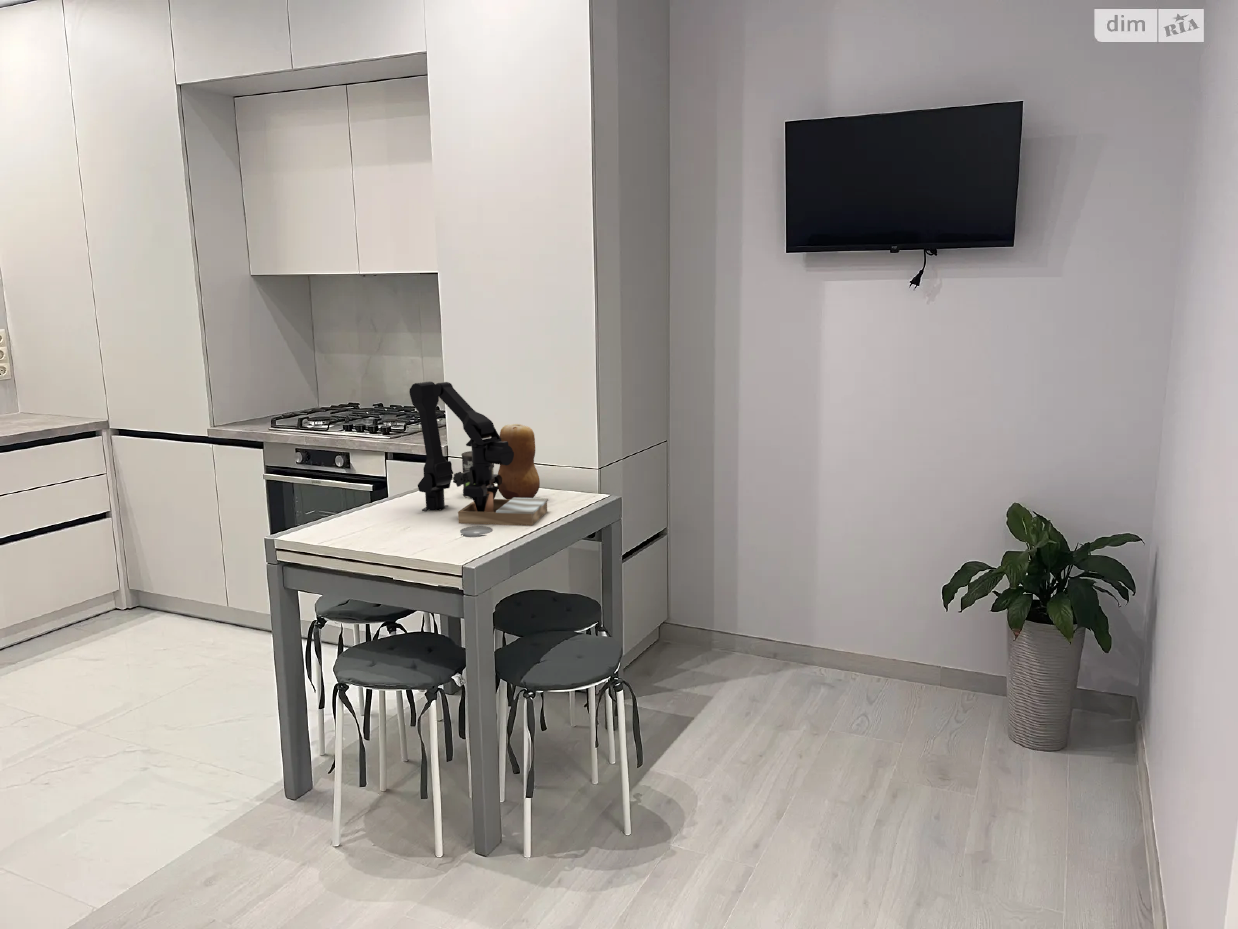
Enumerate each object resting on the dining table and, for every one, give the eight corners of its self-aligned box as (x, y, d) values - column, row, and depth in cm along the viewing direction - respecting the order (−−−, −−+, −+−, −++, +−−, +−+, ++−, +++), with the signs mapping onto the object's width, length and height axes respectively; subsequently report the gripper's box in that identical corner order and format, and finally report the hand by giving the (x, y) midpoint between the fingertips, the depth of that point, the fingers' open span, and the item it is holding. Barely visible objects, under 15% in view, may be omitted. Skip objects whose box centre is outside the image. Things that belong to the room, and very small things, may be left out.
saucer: (466, 528, 271) (466, 525, 271) (496, 529, 270) (496, 526, 270) (455, 536, 263) (455, 533, 263) (486, 537, 261) (486, 534, 261)
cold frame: (478, 511, 291) (477, 496, 290) (548, 513, 287) (548, 498, 286) (458, 525, 275) (457, 509, 274) (533, 527, 271) (533, 511, 270)
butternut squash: (546, 498, 307) (543, 421, 303) (532, 507, 295) (529, 428, 290) (506, 496, 311) (502, 420, 306) (490, 505, 298) (487, 427, 293)
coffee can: (487, 499, 307) (485, 456, 304) (458, 497, 310) (456, 455, 307) (500, 492, 317) (498, 450, 314) (471, 491, 320) (469, 449, 317)
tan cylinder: (478, 513, 285) (477, 491, 284) (496, 514, 284) (495, 491, 283) (472, 518, 280) (471, 495, 279) (490, 519, 279) (489, 495, 278)
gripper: (466, 455, 289) (469, 505, 292) (444, 467, 271) (447, 520, 274) (501, 456, 287) (503, 506, 290) (481, 468, 269) (484, 521, 272)
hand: (484, 513), depth 282 cm, fingers closed on tan cylinder, 6 cm apart
